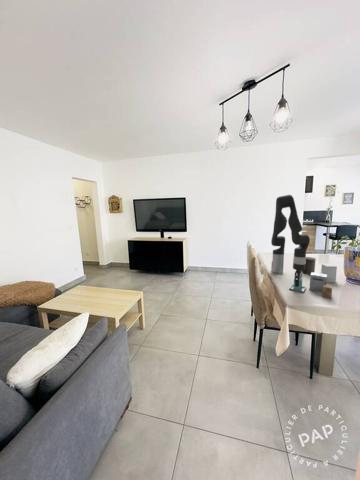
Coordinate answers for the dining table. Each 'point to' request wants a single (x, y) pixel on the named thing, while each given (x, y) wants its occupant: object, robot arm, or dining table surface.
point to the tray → (297, 290)
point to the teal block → (299, 285)
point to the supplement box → (329, 272)
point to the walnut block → (327, 291)
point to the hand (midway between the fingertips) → (297, 284)
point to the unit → (317, 281)
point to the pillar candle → (309, 266)
